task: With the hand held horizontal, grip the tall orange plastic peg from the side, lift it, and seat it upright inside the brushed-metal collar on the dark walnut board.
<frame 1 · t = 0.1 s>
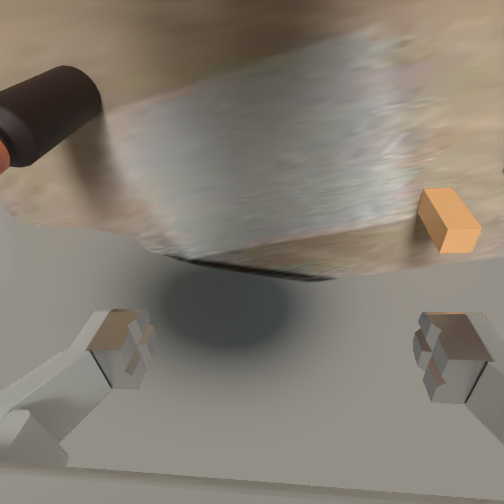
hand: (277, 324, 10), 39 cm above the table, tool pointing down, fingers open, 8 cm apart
orange peg: (434, 200, 50), on the table
brown bottle: (76, 92, 44), on the table
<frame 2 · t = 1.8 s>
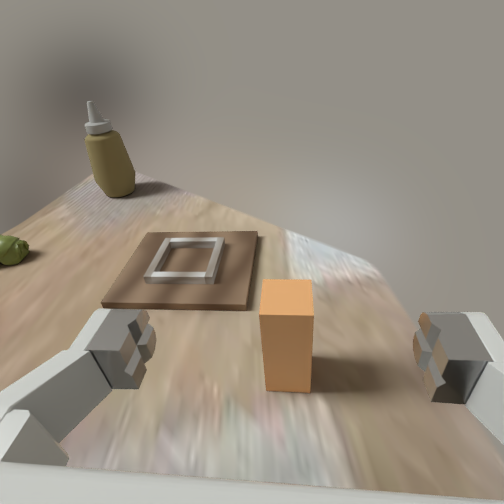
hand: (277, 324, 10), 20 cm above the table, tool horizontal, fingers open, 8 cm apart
squeeze bottle: (121, 193, 70), on the table
orange peg: (288, 372, 31), on the table
collar board: (189, 268, 46), on the table
pear: (0, 261, 52), on the table
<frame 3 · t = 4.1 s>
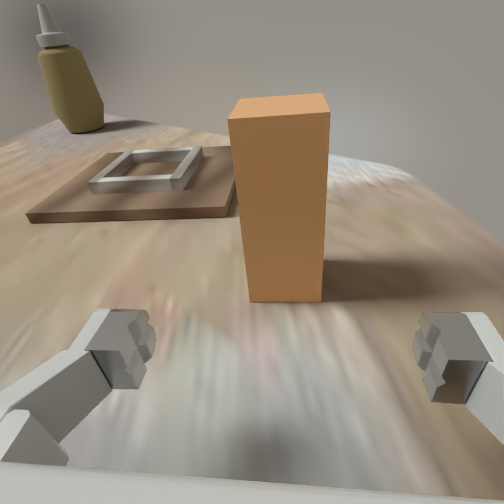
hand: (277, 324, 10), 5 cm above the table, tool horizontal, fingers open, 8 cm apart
squeeze bottle: (87, 130, 59), on the table
orange peg: (285, 279, 20), on the table
collar board: (155, 182, 35), on the table
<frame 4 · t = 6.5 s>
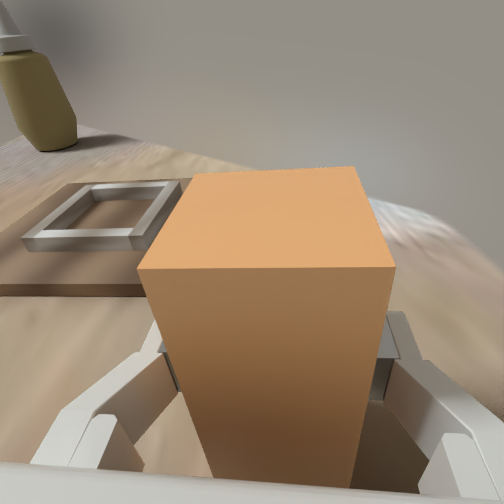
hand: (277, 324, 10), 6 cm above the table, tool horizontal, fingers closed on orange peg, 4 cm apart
squeeze bottle: (58, 147, 51), on the table
orange peg: (283, 443, 12), on the table, touching gripper
collar board: (118, 229, 27), on the table
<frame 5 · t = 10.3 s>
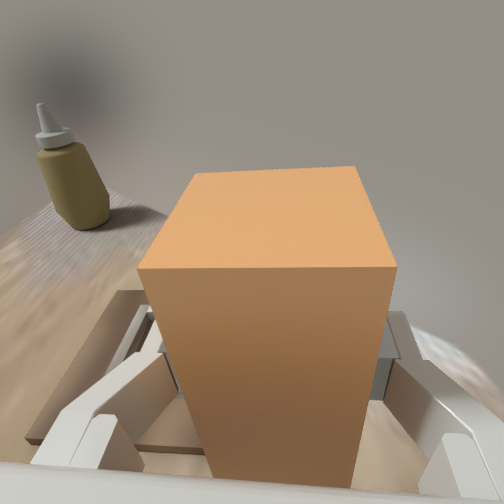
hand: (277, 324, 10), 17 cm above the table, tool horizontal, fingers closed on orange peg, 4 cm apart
squeeze bottle: (92, 222, 54), on the table
orange peg: (283, 443, 12), point 11 cm above the table, touching gripper
collar board: (176, 357, 30), on the table
when the fingers open (7 cm above the table, at t = 13.6 s): orange peg stays where it is, resting on collar board.
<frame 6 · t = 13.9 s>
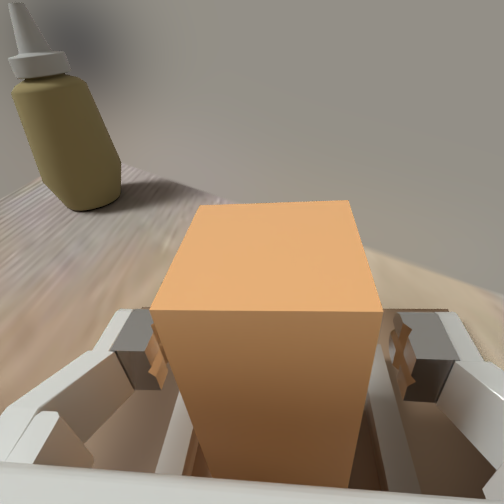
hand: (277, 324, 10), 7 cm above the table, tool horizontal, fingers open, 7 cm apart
squeeze bottle: (95, 201, 37), on the table
orange peg: (282, 453, 13), point 1 cm above the table, touching collar board
collar board: (283, 464, 13), on the table
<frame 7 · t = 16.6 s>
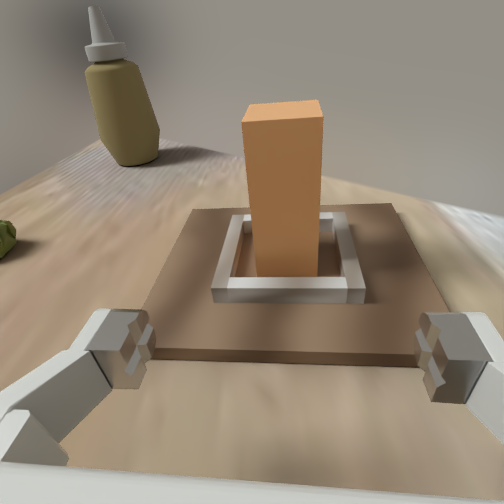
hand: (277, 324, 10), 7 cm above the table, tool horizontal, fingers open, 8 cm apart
squeeze bottle: (138, 161, 48), on the table
orange peg: (287, 258, 23), point 1 cm above the table, touching collar board
collar board: (287, 269, 24), on the table
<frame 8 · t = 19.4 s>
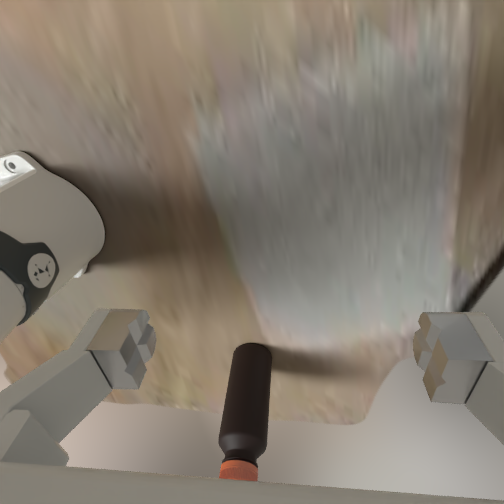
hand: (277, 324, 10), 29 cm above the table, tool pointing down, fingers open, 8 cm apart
brown bottle: (252, 354, 57), on the table
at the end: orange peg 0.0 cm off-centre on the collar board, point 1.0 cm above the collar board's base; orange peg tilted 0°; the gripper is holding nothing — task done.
